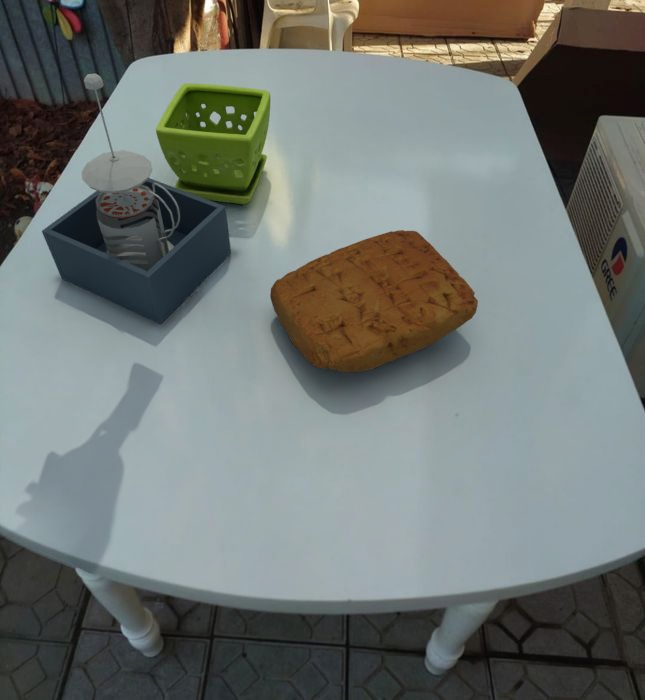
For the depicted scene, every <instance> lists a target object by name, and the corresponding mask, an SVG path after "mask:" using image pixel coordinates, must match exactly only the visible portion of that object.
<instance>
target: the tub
mask: <svg viewBox="0 0 645 700" xmlns="http://www.w3.org/2000/svg"><path fill="white" fill-rule="evenodd" d="M153 183H158V184H159V185H161V186H162V187H164V188H165V189H166V190H167V191H168V192H169V193H170V194H171V195H172V196H173V198H174V199H175V201H176V202H177V204H178V207H179V212H180V222H179V225H178V227H177V228H176V229H174V231H173V234H172V235H171V236H170V237H169V238H167V241H169V242H170V243H171V244H172V245H173V246H174V248H173V249H171V250H170V251H169V252H168V253H167V254H166V255H165V256H164V257H163V258H162V259H160V260H159V261H158V262H157V263H156V264H155V265H154V266H153V267H152V268H151V269H149V270H148V271H146V270H143V269H141V268H139V267H136V266H134V265H132V264H129V263H127V262H125V261H122V260H120V259H118V258H115V257H113V256H111V255H108V252H109V251H108V250H107V248H106V246H107V245H105V242H104V239H103V234H102V233H101V230H100V227H99V223H98V220H97V214H96V212H97V208H96V203H95V200H96V198H97V197H98V195H99V193H101V192H99V191H96V190H95V191H94V192H93V193H91V194H90V195H89V196H87V197H86V198H84V200H82V201H80V202H79V203H78V204H76V205H75V206H73V207H72V208H71V209H70V210H68V211H66V212H65V213H64V214H63V215H61V216H60V217H59V218H57V219H56V220H55V221H54V222H52V223H50V224H49V225H48V226H46V227H45V228H43V229H42V230H41V233H42V235H43V238H44V240H45V242H46V246H47V248H48V250H49V252H50V255H51V257H52V259H53V262H54V264H55V266H56V269H57V271H58V274H59V275H60V278H61V279H62V280H64V281H66V282H68V283H70V284H72V285H74V286H77V287H79V288H81V289H84V290H85V291H88V292H90V293H91V294H92V293H93V294H94V295H97V296H98V297H101V298H102V299H106V300H107V301H110V302H112V303H114V304H116V305H119V306H121V307H122V308H125V309H127V310H129V311H131V312H133V313H136V314H138V315H140V316H142V317H145V318H147V319H148V320H150V321H153V322H155V323H157V324H160V325H162V324H163V323H164V322H165V321H166V320H167V319H168V318H169V317H170V316H171V315H172V314H173V313H174V312H175V311H176V310H177V309H178V308H179V307H180V306H181V305H182V304H183V303H184V302H185V301H186V300H187V299H188V298H189V296H191V295H192V294H193V293H194V291H196V289H197V288H199V287H200V286H201V285H202V284H203V282H205V280H207V279H208V278H209V277H210V276H211V275H212V273H213V272H214V271H215V270H217V268H218V267H220V266H221V264H222V263H224V261H226V260H227V258H228V257H229V256H230V255H231V254H232V251H231V242H230V241H231V240H230V233H229V232H230V231H229V224H228V216H227V215H228V214H227V207H226V206H225V205H224V204H220V203H217V202H216V201H212V200H207V199H204V198H201V197H199V196H196V195H193V194H191V193H188V192H185V191H183V190H180V189H177V188H175V186H172V185H169V184H167V183H164V182H161V181H158V180H156V179H154V178H151V177H149V178H148V180H147V181H146V182H145V183H143V184H142V185H145V186H148V187H149V188H150V189H151V190H152V191H153V187H152V184H153ZM155 194H157V195H158V196H159V197H160V198H161V199H162V200H163V201H164V202H165V203H166V205H167V206H168V207H169V209H170V210H171V212H172V215H173V219H174V223H175V225H174V227H175V226H176V224H177V221H178V212H177V207H176V205H175V203H174V202H173V200H172V199H171V197H170V196H169V195H168V194H167V193H166V192H165V191H164V190H163V189H162V188H160V187H158V186H157V185H155ZM155 198H156V200H157V201H158V203H159V207H160V212H161V216H162V221H163V226H164V230H169V229H172V219H171V215H170V212H169V211H168V209H167V208H166V206H165V205H164V204H163V203H162V202H161V201H160V200H159V199H158V198H157V197H156V196H155ZM152 205H153V206H154V207H155V208H156V209H157V210H159V209H158V207H157V206H156V205H155V204H154V203H153V204H152ZM146 212H153V213H154V214H156V215H157V212H155V211H154V210H153V209H148V210H147V211H146ZM157 216H158V215H157ZM153 218H155V217H151V216H145V217H143V218H140V219H138V220H136V221H133V222H130V223H127V224H123V225H120V227H121V228H125V227H129V226H132V225H134V224H137V223H140V222H142V221H145V220H148V219H150V220H152V219H153ZM126 219H128V218H126ZM118 220H119V221H121V220H125V219H118ZM155 221H156V222H158V223H159V221H158V220H157V219H156V218H155ZM156 226H157V225H156ZM157 228H158V229H159V230H160V231H161V229H160V228H159V227H158V226H157ZM170 233H171V231H170V232H166V233H165V235H166V237H167V236H168V235H169V234H170Z"/></svg>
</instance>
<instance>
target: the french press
mask: <svg viewBox="0 0 645 700" xmlns="http://www.w3.org/2000/svg"><path fill="white" fill-rule="evenodd" d="M83 83H84V86H85V89H86V90H89V91H90V90H91V91H94V94H95V97H96V101H97V104H98V110H99V112H100V116H101V119H102V123H103V127H104V131H105V134H106V138H107V142H108V146H109V150H110V151H109V152H103V153H101V154H99V155H98V156H95V157H94V158H92V159H90V161H88V162H87V163H86V164H85V165H84V167H83V169H82V171H81V180H82V181H83V183H85V184H86V185H87V187H89V188H90V189H92V190H94V191H95V192H96V191H99V192H101V193H99V195H98V197H97V198H96V200H95V203H96V208H97V212H96V214H97V220H98V223H99V227H100V230H101V233H102V234H103V239H104V242H105V245H107V246H106V248H107V250H108V251H109V252H108V255H111V256H113V257H115V258H118V259H120V260H122V261H125V262H127V263H129V264H132V265H134V266H136V267H139V268H141V269H143V270H146V271H148V270H149V269H151V268H152V267H153V266H154V265H155V264H156V263H157V262H158V261H159V260H160V259H162V258H163V257H164V256H165V255H166V254H167V253H168V252H169V251H170V250H171V249H173V248H174V246H173V245H172V244H171V243H170V242H169V241H167V238H169V237H170V236H171V235H172V234H173V231H174V229H176V228H177V227H178V225H179V222H180V212H179V207H178V204H177V202H176V201H175V199H174V198H173V196H172V195H171V194H170V193H169V192H168V191H167V190H166V189H165V188H164V187H162V186H161V185H159V184H158V183H153V184H152V187H153V191H152V190H151V189H150V188H149V187H148V186H145V185H142V184H143V183H145V182H146V181H147V180H148V178H150V176H151V174H152V171H153V165H152V161H151V160H150V159H148V158H147V156H145V155H142V154H139V153H137V152H134V151H129V150H124V149H123V150H115V151H114V149H113V146H112V143H111V139H110V135H109V132H108V128H107V124H106V120H105V117H104V113H103V110H102V106H101V103H100V97H99V94H98V90H100V89H102V88H104V81H103V78H102V77H101V76H100V75H99V74H97V73H88V74H86V76H85V77H84V79H83ZM155 185H157V186H158V187H160V188H162V189H163V190H164V191H165V192H166V193H167V194H168V195H169V196H170V197H171V199H172V200H173V202H174V203H175V205H176V207H177V212H178V221H177V224H176V226H175V227H174V225H175V223H174V219H173V215H172V212H171V210H170V209H169V207H168V206H167V205H166V203H165V202H164V201H163V200H162V199H161V198H160V197H159V196H158V195H157V194H155ZM155 196H156V197H157V198H158V199H159V200H160V201H161V202H162V203H163V204H164V205H165V206H166V208H167V209H168V211H169V212H170V215H171V219H172V229H169V230H164V226H163V221H162V216H161V212H160V207H159V203H158V201H157V200H156V198H155ZM153 203H154V204H155V205H156V206H157V207H158V209H159V210H157V209H156V208H155V207H154V206H153V205H152V204H153ZM148 209H153V210H154V211H155V212H157V215H158V216H157V215H156V214H154V213H153V212H146V211H147V210H148ZM145 216H151V217H155V218H156V219H157V220H158V221H159V223H158V222H156V221H155V218H153V219H152V220H150V219H148V220H145V221H142V222H140V223H137V224H134V225H132V226H129V227H125V228H121V227H120V225H123V224H127V223H130V222H133V221H136V220H138V219H140V218H143V217H145ZM126 218H128V219H126ZM118 219H125V220H121V221H119V220H118ZM156 225H157V226H158V227H159V228H160V229H161V231H160V230H159V229H158V228H157V226H156ZM170 231H171V233H170V234H169V235H168V236H167V237H166V235H165V233H166V232H170Z"/></svg>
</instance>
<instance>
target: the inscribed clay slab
mask: <svg viewBox="0 0 645 700" xmlns="http://www.w3.org/2000/svg"><path fill="white" fill-rule="evenodd" d="M475 294H476V292H475V291H474V290H473V289H472V287H471V286H470V285H469V283H468V282H467V281H466V279H465V278H463V277H461V275H460V274H459V272H458V271H457V270H455V268H454V267H453V266H452V265H451V264H450V262H448V260H447V259H445V258H444V257H443V256H442V255H441V254H440V253H439V251H438V250H437V249H436V248H435V247H434V246H433V245H432V244H431V243H430V242H429V241H427V239H426V238H425V237H424V236H423V235H421V233H419V232H418V231H416V230H403V229H402V230H395V231H392V230H390V231H388V232H385V233H381V234H378V235H375V236H372V237H369V238H368V237H367V238H365V239H362V240H360V241H357V242H355V243H351V244H350V245H348V246H344V247H340V248H338V249H336V250H333V251H331V252H330V253H327V254H323V255H321V256H319V257H317V258H315V259H313V260H310V261H308V262H307V263H305V264H304V265H301V266H300V267H298V268H297V269H295V270H292V271H289V272H288V273H286V274H285V275H283V276H282V277H281V278H279V279H276V281H275V282H274V283H273V284H272V286H271V287H270V295H269V296H270V301H271V304H272V308H273V310H274V312H275V315H276V316H277V319H278V320H279V322H280V325H281V326H282V327H283V329H284V331H285V332H286V333H287V335H288V337H289V339H290V340H291V342H292V344H293V345H294V347H295V348H296V349H297V350H298V351H299V352H300V353H301V355H302V356H303V358H304V359H305V360H306V361H307V362H308V363H309V364H311V365H313V366H314V367H315V368H319V369H330V370H333V371H338V372H342V373H345V374H346V373H354V372H355V373H357V372H364V371H370V370H372V369H376V368H379V367H381V366H383V365H385V364H388V363H390V362H393V361H395V360H397V359H401V358H403V357H405V356H408V355H410V354H412V353H416V352H417V351H420V350H422V349H423V350H424V348H426V347H429V346H431V345H433V344H435V343H437V342H439V341H440V340H441V339H442V338H444V337H446V336H447V335H449V334H450V333H452V332H454V331H456V330H457V329H459V328H460V327H462V326H463V325H464V324H466V323H468V322H469V321H470V320H471V319H473V318H474V316H475V314H476V313H477V311H478V310H477V309H478V305H479V300H478V299H477V298H476V296H475Z"/></svg>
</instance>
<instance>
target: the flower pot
mask: <svg viewBox="0 0 645 700" xmlns="http://www.w3.org/2000/svg"><path fill="white" fill-rule="evenodd" d="M202 105H205V107H202ZM227 107H228V108H229V107H232V108H233V109H234V110H233V111H234V112H227ZM214 112H215V113H216V114H217V115H219V117H220V118H219V120H218V122H217V123H215V122H214V121H213V120H212V119H211V115H213V113H214ZM197 113H198V115H199V116H198V115H197ZM270 114H271V93H270V91H268V90H265V89H259V88H252V87H251V88H250V87H243V86H233V85H221V84H211V83H186V82H185V83H183V84H182V85H181V86H180V87H179V88H178V90H177V91H176V93H175V94H174V95H173V97H172V99H171V100H170V102H169V104H168V105H167V107H166V109H165V110H164V113H162V116H161V118H160V120H159V122H158V124H157V126H156V128H155V134H156V137H157V141H158V143H159V146H160V149H161V152H162V154H163V156H164V159H165V161H166V163H167V165H169V167H170V169H171V171H172V172H173V173H174V174H175V176H176V177H177V178H178V179H177V181H176V184H175V186H174V187H175V188H177V189H180V190H183V191H185V192H188V193H191V194H193V195H196V196H199V197H201V198H204V199H207V200H209V201H212V202H223V203H233V204H237V205H238V206H244V205H246V204H248V203H249V202H250V201H251V200H252V198H253V195H254V193H255V191H256V188H257V186H258V183H259V182H260V179H261V176H262V173H263V172H264V168H265V165H266V162H267V159H268V155H267V154H262V153H263V151H264V147H265V144H266V140H267V136H268V130H269V125H270V116H271V115H270ZM242 115H243V116H246V117H245V119H243V118H242ZM227 122H230V123H231V126H230V127H228V125H227ZM201 123H204V124H205V126H202V125H201ZM239 126H240V127H241V129H240V128H239Z"/></svg>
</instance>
